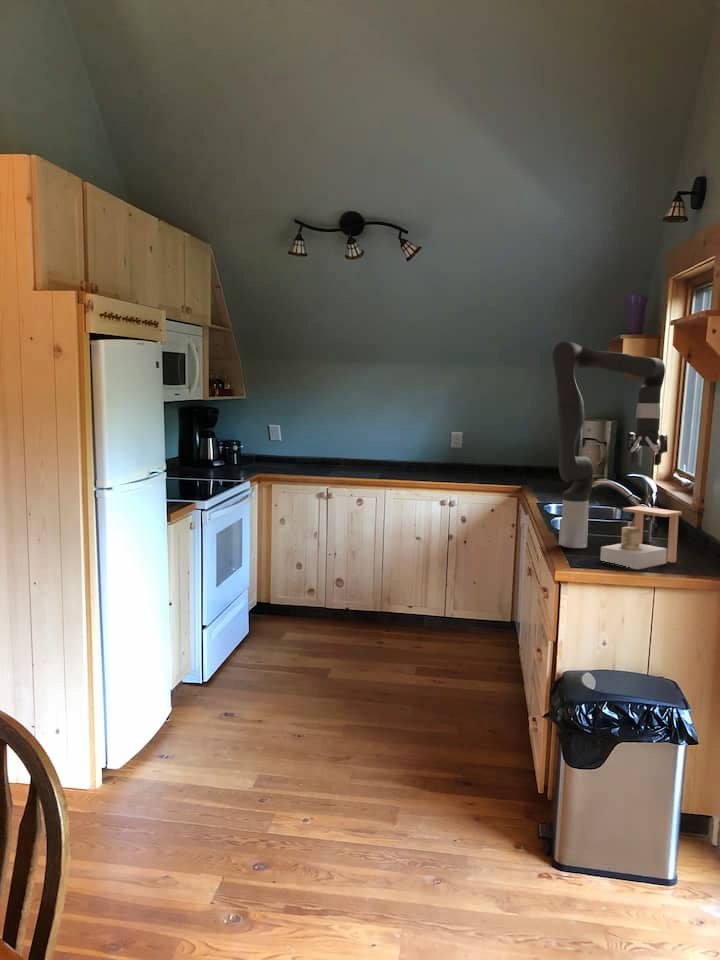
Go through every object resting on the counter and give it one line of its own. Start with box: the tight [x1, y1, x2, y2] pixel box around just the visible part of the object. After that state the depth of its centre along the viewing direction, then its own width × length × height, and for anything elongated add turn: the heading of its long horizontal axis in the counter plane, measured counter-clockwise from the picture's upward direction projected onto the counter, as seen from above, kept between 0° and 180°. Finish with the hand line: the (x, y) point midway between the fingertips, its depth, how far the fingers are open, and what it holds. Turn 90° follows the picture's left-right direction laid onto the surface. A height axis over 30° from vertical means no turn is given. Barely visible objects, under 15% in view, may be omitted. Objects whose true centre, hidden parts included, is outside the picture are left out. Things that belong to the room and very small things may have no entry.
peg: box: [620, 525, 640, 551], centre depth 243 cm, size 4×4×12 cm
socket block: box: [599, 543, 668, 570], centre depth 245 cm, size 14×16×5 cm
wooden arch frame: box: [622, 505, 683, 563], centre depth 249 cm, size 16×10×17 cm, turn 35°
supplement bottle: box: [632, 514, 653, 543], centre depth 282 cm, size 7×7×12 cm
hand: (645, 464), depth 252 cm, fingers open, 8 cm apart
